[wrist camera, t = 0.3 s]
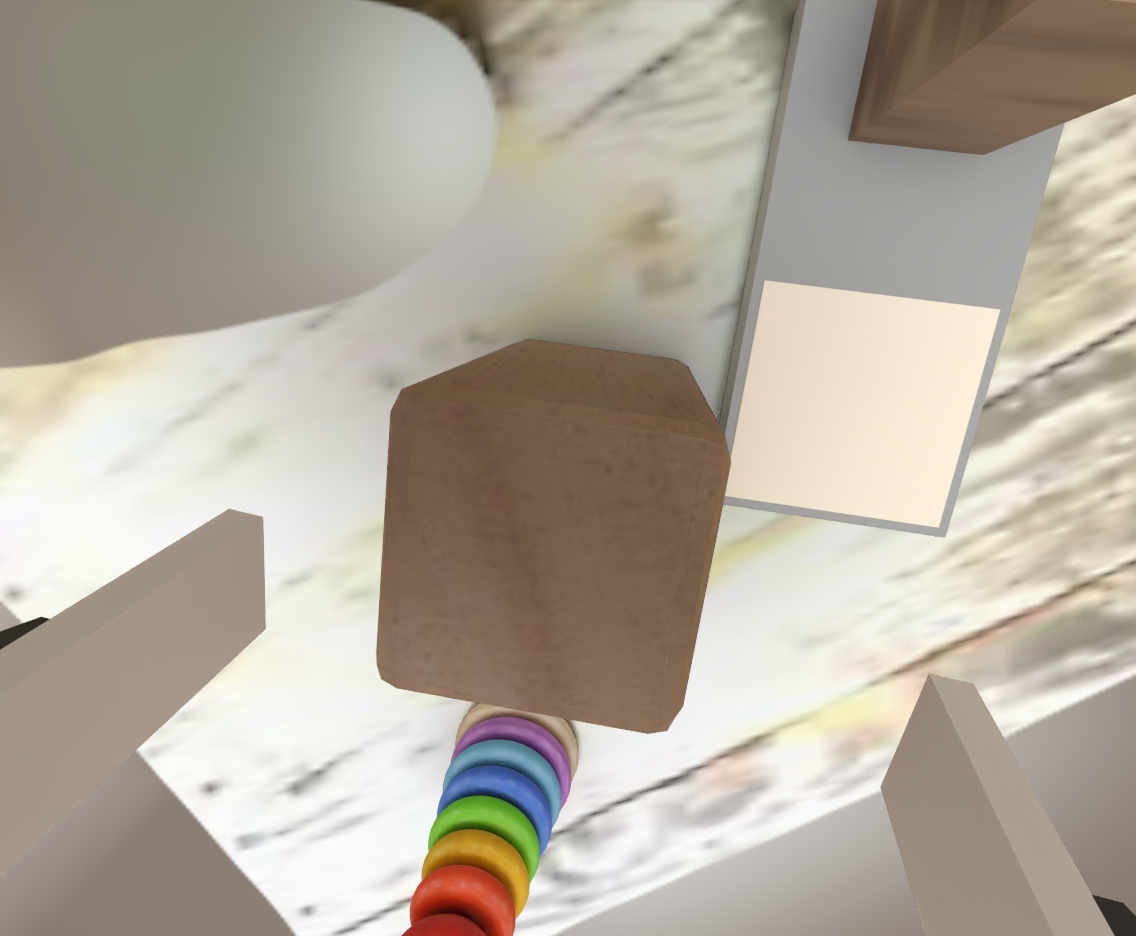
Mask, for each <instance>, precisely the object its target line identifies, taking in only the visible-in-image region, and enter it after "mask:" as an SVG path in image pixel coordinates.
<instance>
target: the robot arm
mask: <svg viewBox="0 0 1136 936" xmlns="http://www.w3.org/2000/svg"><path fill="white" fill-rule="evenodd" d="M265 629H266V622H265V577H264V533H263V517H261V516H257V515H253V514H248V513H244V512H240V511H236V510H231V509H228V510H227V511H225V512H223V513H222V514H220V515H218V516H217V517H215V518H214V519H212V520H210V521H209V522H207V523H205V524H204V525H202V526H201V527H199V528H197V529H196V530H194V531H193V532H191V533H189V534H188V535H186V536H184V537H183V538H181V539H180V540H178V541H176V542H175V543H173V544H171V545H170V546H168V547H167V548H165V549H163V550H162V551H160V552H158V553H157V554H155V555H154V556H152V557H150V558H149V559H147V560H145V561H144V562H142V563H141V564H139V565H137V566H136V567H134V568H132V569H131V570H129V571H128V572H126V573H124V574H123V575H121V576H119V577H118V578H116V579H115V580H113V581H111V582H110V583H108V584H106V585H105V586H103V587H102V588H100V589H98V590H97V591H95V592H93V593H92V594H90V595H89V596H87V597H85V598H84V599H82V600H80V601H79V602H77V603H76V604H74V605H72V606H71V607H69V608H67V609H66V610H64V611H63V612H61V613H59V614H58V615H56V616H54V617H53V618H51V619H48V618H44V617H39V618H37V619H34V620H31V621H28V622H26V623H23V624H20V625H17V626H14V627H12V628H9V629H6V630H3V631H1V632H0V877H1V876H2V875H3V874H4V873H5V872H6V871H7V870H8V869H10V867H12V866H13V865H14V864H15V863H16V862H17V861H18V860H19V859H20V858H21V857H22V856H23V855H24V854H25V853H26V852H28V851H29V850H30V849H31V848H32V847H33V846H34V845H35V844H36V843H37V842H38V841H39V840H41V838H43V837H44V836H45V835H46V834H47V833H48V832H49V831H50V830H51V829H52V828H53V827H54V826H55V825H56V824H58V823H59V822H60V821H61V820H62V819H63V818H64V817H65V816H66V815H67V814H68V813H69V812H70V811H71V810H73V809H74V807H76V806H77V805H78V804H79V803H80V802H81V801H82V800H83V799H84V798H85V797H86V796H87V795H89V794H90V793H91V792H92V791H93V790H94V789H95V788H96V787H97V786H98V785H99V784H100V783H101V782H102V781H104V780H105V779H106V778H107V777H108V776H109V775H110V774H111V773H112V772H113V771H114V770H115V769H116V768H117V767H119V765H121V764H122V763H123V762H124V761H125V760H126V759H127V758H128V757H129V756H130V755H131V754H132V753H133V752H135V751H136V750H137V749H138V748H139V747H140V746H141V745H142V744H143V743H144V742H145V741H146V740H147V739H148V738H150V737H151V736H152V735H153V734H154V733H155V732H156V731H157V730H158V729H159V728H160V727H161V726H162V725H163V724H164V723H166V722H167V721H168V720H169V719H170V718H171V717H172V716H173V715H174V714H175V713H176V712H177V711H178V710H179V709H180V708H182V707H183V706H184V705H185V704H186V703H187V702H188V701H189V700H190V699H191V698H192V697H193V696H194V695H195V694H197V693H198V692H199V691H200V690H201V689H202V688H203V687H204V686H205V685H206V684H207V683H208V682H209V681H210V680H211V679H213V678H214V677H215V676H216V675H217V674H218V673H219V672H220V671H221V670H222V669H223V668H224V667H225V666H226V665H227V664H229V663H230V662H231V661H232V660H233V659H234V658H235V657H236V656H237V655H238V654H239V653H240V652H241V651H242V650H244V649H245V648H246V647H247V646H248V645H249V644H250V643H251V642H252V641H253V640H254V639H255V638H256V637H257V636H258V635H260V634H261V633H262V632H263V631H264V630H265ZM881 790H882V794H883V797H884V800H885V804H886V807H887V810H888V814H889V817H890V820H891V824H892V827H893V830H894V834H895V837H896V841H897V844H898V847H899V850H900V854H901V857H902V860H903V864H904V867H905V871H906V874H907V877H908V881H909V884H910V888H911V891H912V894H913V897H914V901H915V904H916V908H917V911H918V914H919V918H920V921H921V924H922V927H923V931H924V934H925V936H1136V916H1135V915H1134V914H1133V913H1132V912H1131V911H1130V910H1129V909H1128V908H1127V907H1126V906H1125V905H1124V903H1121V902H1117V901H1114V900H1110V899H1106V898H1102V897H1099V896H1094V895H1091V893H1090V891H1089V889H1088V888H1087V886H1086V884H1085V882H1084V881H1083V879H1082V877H1081V875H1080V873H1079V871H1078V870H1077V868H1076V866H1075V864H1074V862H1073V861H1072V859H1071V857H1070V855H1069V854H1068V852H1067V850H1066V848H1065V846H1064V845H1063V843H1062V841H1061V839H1060V837H1059V836H1058V834H1057V832H1056V831H1055V829H1054V827H1053V825H1052V823H1051V821H1050V820H1049V818H1048V816H1047V814H1046V813H1045V811H1044V809H1043V807H1042V805H1041V804H1040V802H1039V800H1038V798H1037V796H1036V795H1035V793H1034V791H1033V789H1032V788H1031V786H1030V784H1029V782H1028V780H1027V779H1026V777H1025V775H1024V773H1023V771H1022V770H1021V768H1020V766H1019V764H1018V763H1017V761H1016V759H1015V757H1014V755H1013V754H1012V752H1011V750H1010V748H1009V746H1008V745H1007V743H1006V741H1005V739H1004V738H1003V736H1002V734H1001V732H1000V730H999V729H998V727H997V725H996V723H995V721H994V720H993V718H992V716H991V714H990V713H989V711H988V709H987V707H986V705H985V704H984V702H983V700H982V698H981V697H980V695H979V693H978V691H977V689H976V688H975V686H974V684H971V683H967V682H963V681H959V680H954V679H950V678H946V677H942V676H937V675H933V674H929V675H928V677H927V680H926V682H925V684H924V687H923V689H922V691H921V694H920V696H919V698H918V701H917V703H916V705H915V708H914V710H913V712H912V715H911V717H910V719H909V722H908V724H907V726H906V729H905V731H904V733H903V736H902V738H901V740H900V743H899V745H898V747H897V750H896V752H895V754H894V757H893V759H892V761H891V764H890V766H889V768H888V771H887V773H886V775H885V778H884V780H883V782H882V785H881Z"/></svg>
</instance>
